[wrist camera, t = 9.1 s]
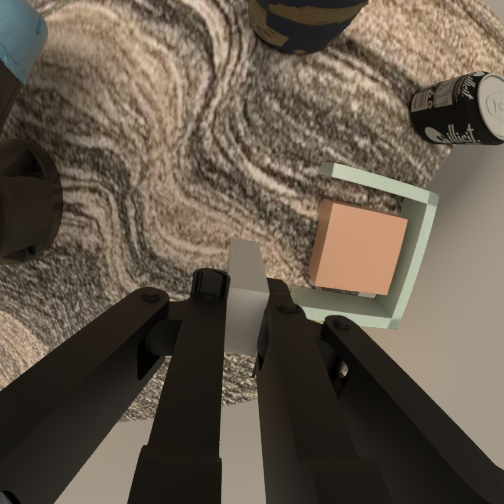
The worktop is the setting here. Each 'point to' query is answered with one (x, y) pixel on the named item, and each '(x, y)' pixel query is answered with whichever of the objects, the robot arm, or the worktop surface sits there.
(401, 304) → the green u-shaped bracket
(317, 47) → the canister
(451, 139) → the beverage can
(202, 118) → the worktop surface
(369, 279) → the orange block
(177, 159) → the worktop surface
